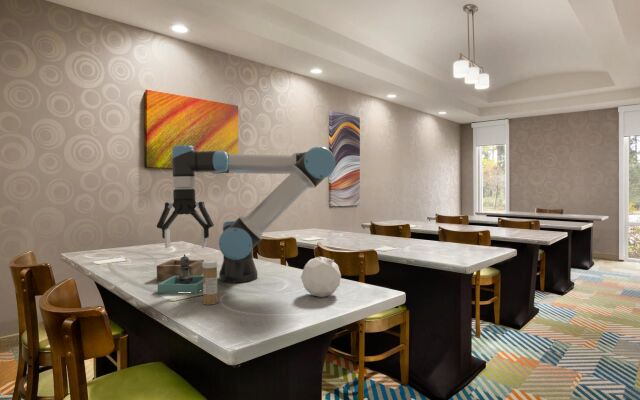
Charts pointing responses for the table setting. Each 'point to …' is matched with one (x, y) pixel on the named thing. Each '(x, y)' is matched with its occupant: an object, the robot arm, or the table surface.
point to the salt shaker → (184, 272)
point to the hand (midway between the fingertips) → (185, 247)
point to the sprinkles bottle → (209, 282)
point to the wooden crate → (178, 269)
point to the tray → (180, 285)
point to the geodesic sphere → (321, 276)
